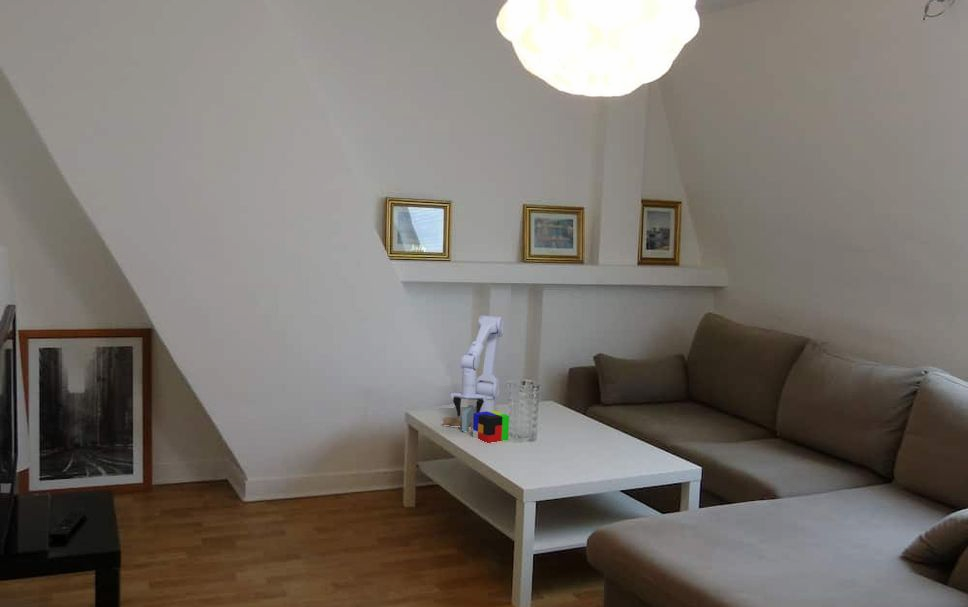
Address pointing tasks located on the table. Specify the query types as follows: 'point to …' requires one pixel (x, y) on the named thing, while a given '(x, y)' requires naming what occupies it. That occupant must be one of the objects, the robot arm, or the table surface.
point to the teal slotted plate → (467, 417)
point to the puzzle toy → (491, 426)
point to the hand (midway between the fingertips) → (468, 416)
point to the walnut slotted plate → (455, 422)
